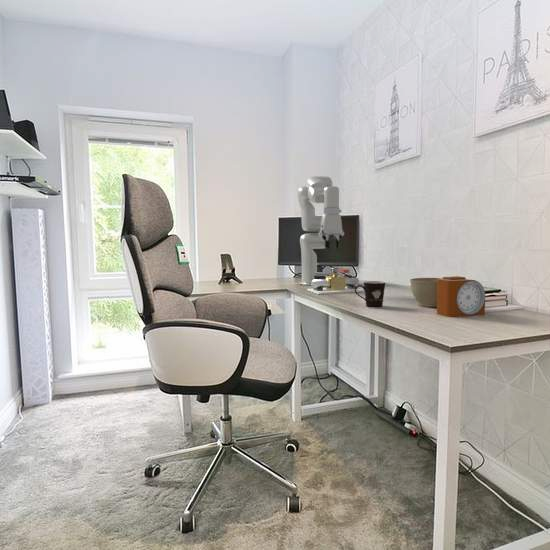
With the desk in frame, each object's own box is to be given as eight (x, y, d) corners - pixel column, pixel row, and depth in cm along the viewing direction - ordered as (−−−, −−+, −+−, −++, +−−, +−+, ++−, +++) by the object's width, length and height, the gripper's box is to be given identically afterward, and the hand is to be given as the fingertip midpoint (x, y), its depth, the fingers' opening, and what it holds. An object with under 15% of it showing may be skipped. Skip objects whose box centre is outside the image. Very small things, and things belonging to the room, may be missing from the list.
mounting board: (307, 290, 207) (307, 288, 207) (351, 288, 214) (351, 286, 214) (318, 294, 192) (318, 292, 191) (366, 291, 199) (366, 289, 199)
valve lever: (330, 270, 204) (330, 267, 204) (336, 270, 205) (336, 267, 205) (342, 273, 190) (342, 269, 190) (350, 272, 191) (350, 269, 191)
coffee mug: (386, 305, 158) (386, 281, 157) (383, 308, 150) (383, 283, 149) (358, 303, 162) (358, 280, 162) (354, 307, 155) (354, 282, 154)
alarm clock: (450, 317, 131) (451, 278, 130) (434, 313, 139) (435, 276, 138) (485, 314, 135) (486, 277, 134) (467, 310, 143) (468, 275, 142)
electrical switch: (332, 288, 217) (331, 272, 215) (328, 290, 213) (327, 273, 211) (317, 287, 222) (316, 271, 220) (313, 289, 218) (312, 273, 216)
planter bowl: (435, 301, 164) (436, 276, 163) (461, 308, 149) (462, 280, 148) (402, 303, 161) (402, 278, 160) (424, 310, 145) (425, 282, 144)
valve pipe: (310, 289, 203) (310, 272, 203) (353, 287, 211) (353, 270, 210) (315, 291, 197) (315, 273, 196) (360, 288, 204) (360, 271, 203)
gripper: (343, 212, 195) (343, 248, 197) (313, 212, 190) (313, 248, 192) (350, 211, 188) (350, 248, 190) (318, 211, 183) (319, 249, 185)
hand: (331, 248), depth 191 cm, fingers open, 4 cm apart
